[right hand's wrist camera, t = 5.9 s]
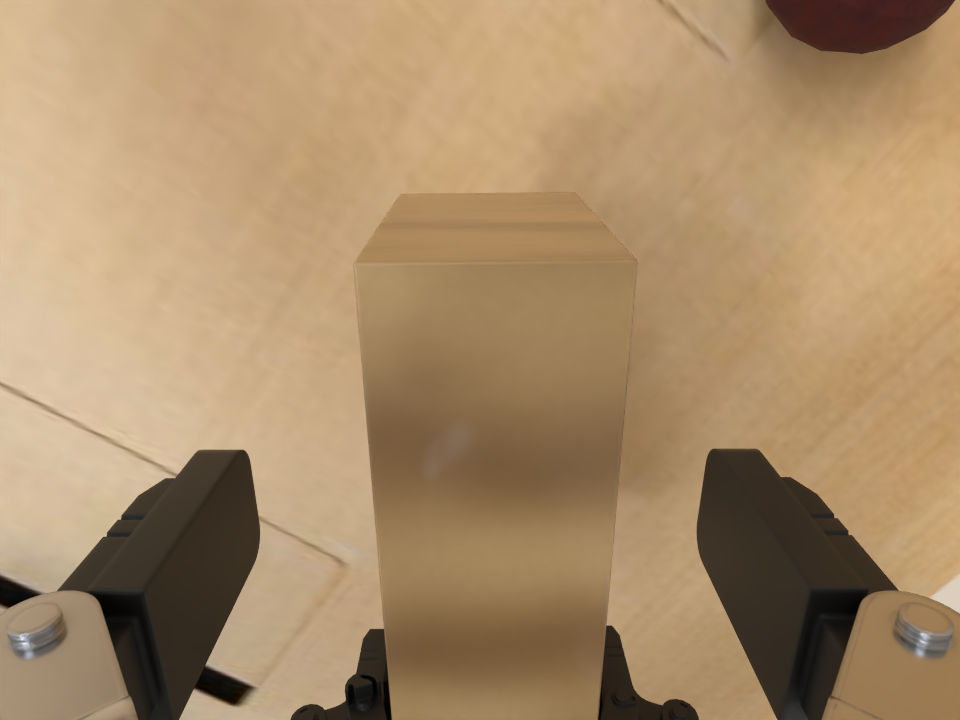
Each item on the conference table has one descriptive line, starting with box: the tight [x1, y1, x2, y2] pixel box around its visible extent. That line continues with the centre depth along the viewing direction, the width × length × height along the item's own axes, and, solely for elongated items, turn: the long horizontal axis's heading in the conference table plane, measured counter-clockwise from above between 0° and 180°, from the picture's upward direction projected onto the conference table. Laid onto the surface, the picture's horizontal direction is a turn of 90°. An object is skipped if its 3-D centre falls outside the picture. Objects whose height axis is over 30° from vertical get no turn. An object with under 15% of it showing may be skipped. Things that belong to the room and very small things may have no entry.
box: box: [353, 192, 637, 720], centre depth 23 cm, size 20×6×10 cm, turn 0°
